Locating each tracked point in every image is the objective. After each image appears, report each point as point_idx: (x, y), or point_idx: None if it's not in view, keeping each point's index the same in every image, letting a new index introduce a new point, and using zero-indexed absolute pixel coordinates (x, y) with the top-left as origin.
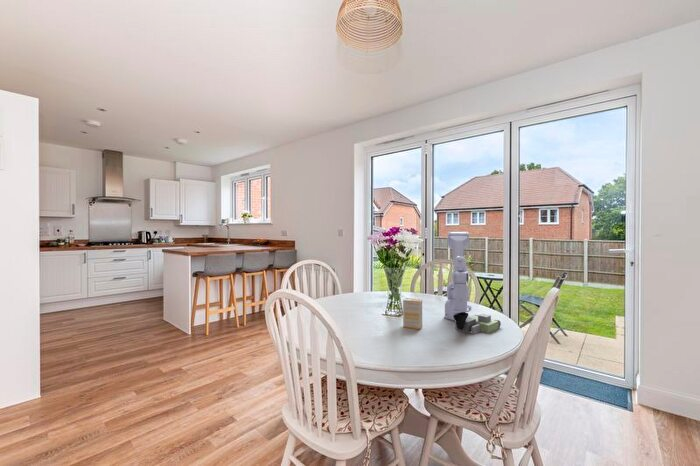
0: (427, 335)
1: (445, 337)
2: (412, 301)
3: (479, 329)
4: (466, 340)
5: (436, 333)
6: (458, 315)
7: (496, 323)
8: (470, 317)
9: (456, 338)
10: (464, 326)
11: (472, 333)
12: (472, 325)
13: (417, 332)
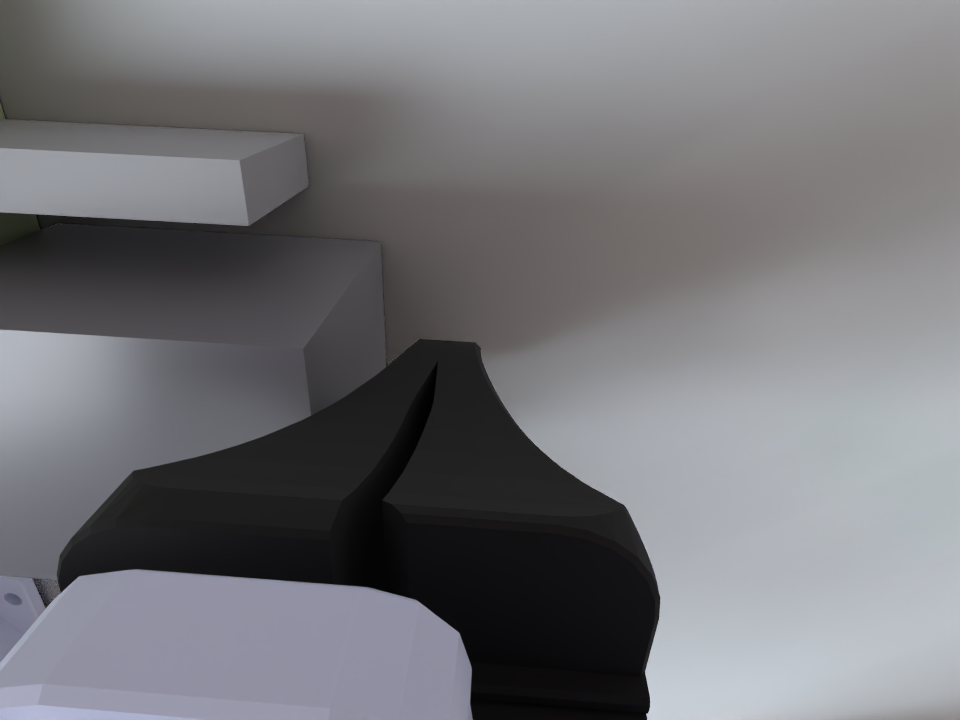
0: (950, 603)
1: (880, 401)
2: None
3: (18, 126)
4: (802, 23)
5: (773, 565)
6: (633, 682)
7: None
8: None
9: (810, 244)
10: (350, 357)
11: (302, 157)
12: (107, 271)
13: (899, 715)
